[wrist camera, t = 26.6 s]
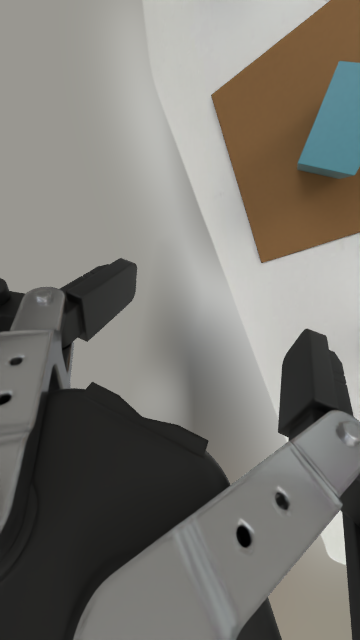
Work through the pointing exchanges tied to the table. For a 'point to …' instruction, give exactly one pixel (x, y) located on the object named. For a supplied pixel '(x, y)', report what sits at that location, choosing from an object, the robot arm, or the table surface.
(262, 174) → the mat
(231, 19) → the table surface
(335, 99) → the teal rectangular block
